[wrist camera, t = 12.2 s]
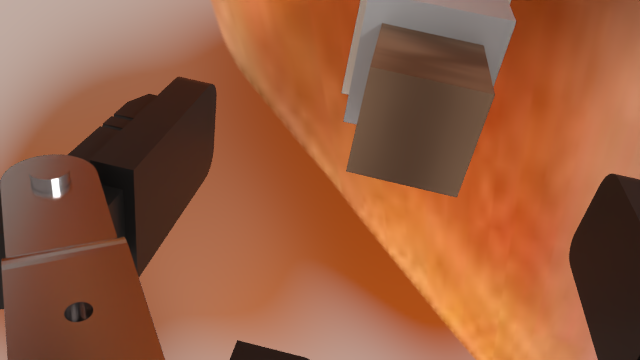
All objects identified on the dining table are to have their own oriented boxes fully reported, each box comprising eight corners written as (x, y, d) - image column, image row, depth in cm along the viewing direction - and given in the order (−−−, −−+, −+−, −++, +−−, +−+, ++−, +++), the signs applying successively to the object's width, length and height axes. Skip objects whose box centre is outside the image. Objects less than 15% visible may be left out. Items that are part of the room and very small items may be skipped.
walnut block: (483, 45, 27) (494, 94, 22) (453, 135, 30) (457, 197, 25) (382, 22, 27) (370, 66, 22) (361, 114, 30) (346, 171, 25)
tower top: (505, -6, 30) (516, 21, 26) (466, 110, 34) (471, 149, 30) (378, -31, 31) (369, -9, 27) (354, 86, 35) (343, 121, 30)
